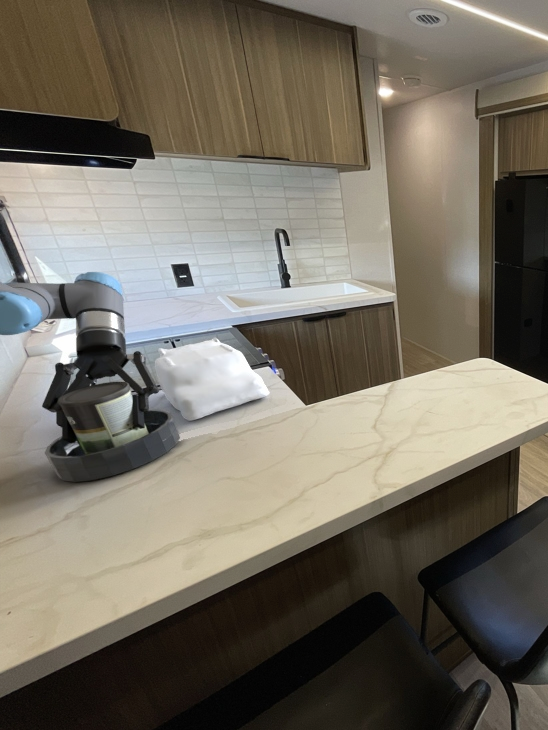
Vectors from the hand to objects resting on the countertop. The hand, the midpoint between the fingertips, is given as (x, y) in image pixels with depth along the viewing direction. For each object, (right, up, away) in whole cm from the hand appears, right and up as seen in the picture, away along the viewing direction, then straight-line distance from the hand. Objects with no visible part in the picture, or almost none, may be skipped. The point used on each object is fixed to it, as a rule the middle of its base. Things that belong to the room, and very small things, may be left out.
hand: (105, 433), depth 79 cm
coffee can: (-1, -5, +5) cm, 7 cm away
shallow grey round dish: (-1, -5, +5) cm, 7 cm away
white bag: (0, +5, +31) cm, 32 cm away
